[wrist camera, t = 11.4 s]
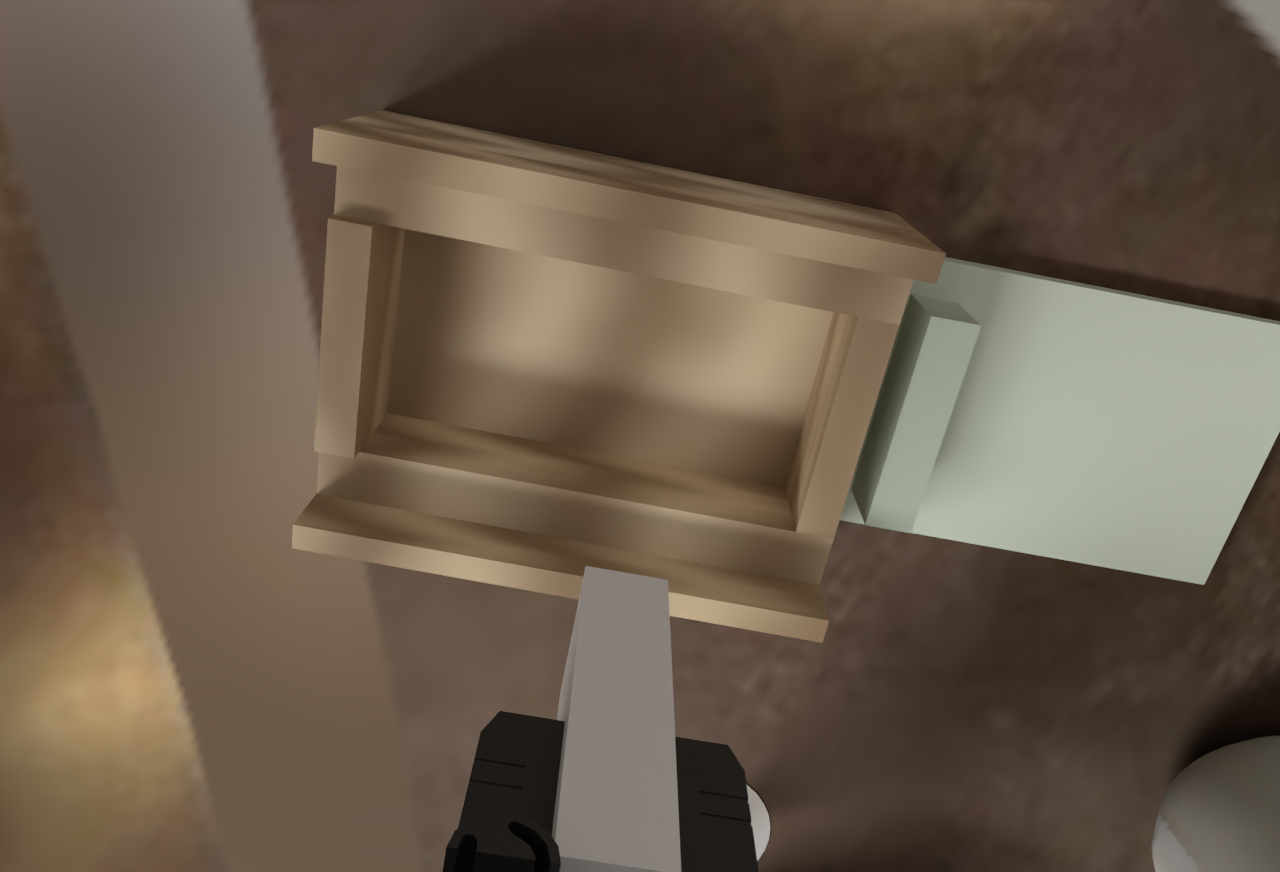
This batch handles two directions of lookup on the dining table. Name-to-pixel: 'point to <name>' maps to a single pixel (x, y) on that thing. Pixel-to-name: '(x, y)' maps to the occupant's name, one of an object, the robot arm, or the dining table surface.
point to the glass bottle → (1223, 812)
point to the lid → (1069, 421)
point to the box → (595, 368)
